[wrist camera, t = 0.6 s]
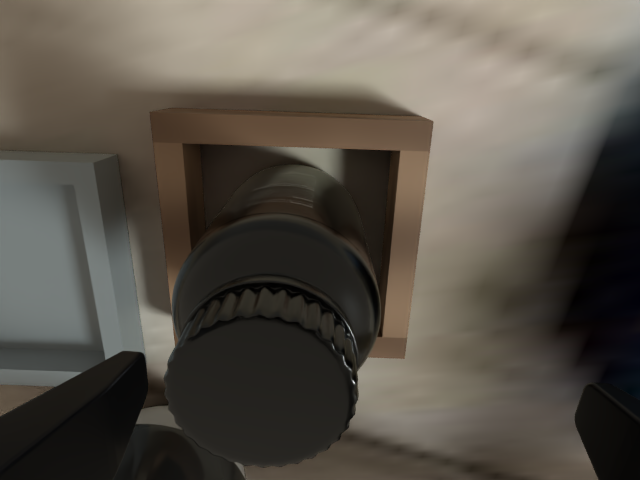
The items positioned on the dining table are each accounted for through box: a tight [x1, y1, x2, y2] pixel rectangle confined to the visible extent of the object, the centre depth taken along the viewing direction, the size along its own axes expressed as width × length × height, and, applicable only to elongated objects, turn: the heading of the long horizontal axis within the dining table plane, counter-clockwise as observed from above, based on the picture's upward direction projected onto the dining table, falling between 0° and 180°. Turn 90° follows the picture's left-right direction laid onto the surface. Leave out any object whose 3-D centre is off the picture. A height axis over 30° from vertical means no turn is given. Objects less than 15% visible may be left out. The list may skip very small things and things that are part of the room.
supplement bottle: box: [164, 164, 381, 468], centre depth 16 cm, size 7×7×12 cm
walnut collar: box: [150, 108, 433, 359], centre depth 20 cm, size 11×11×2 cm
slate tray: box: [0, 150, 146, 387], centre depth 21 cm, size 12×12×2 cm
